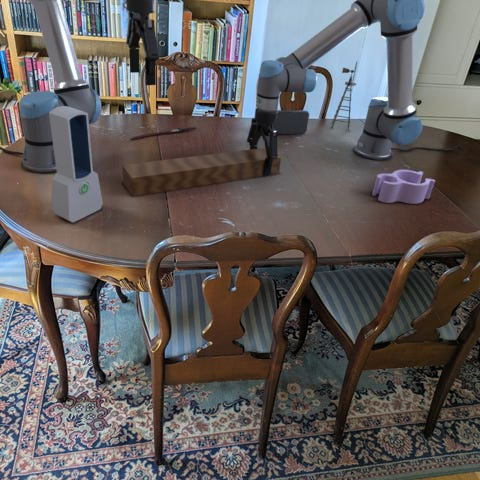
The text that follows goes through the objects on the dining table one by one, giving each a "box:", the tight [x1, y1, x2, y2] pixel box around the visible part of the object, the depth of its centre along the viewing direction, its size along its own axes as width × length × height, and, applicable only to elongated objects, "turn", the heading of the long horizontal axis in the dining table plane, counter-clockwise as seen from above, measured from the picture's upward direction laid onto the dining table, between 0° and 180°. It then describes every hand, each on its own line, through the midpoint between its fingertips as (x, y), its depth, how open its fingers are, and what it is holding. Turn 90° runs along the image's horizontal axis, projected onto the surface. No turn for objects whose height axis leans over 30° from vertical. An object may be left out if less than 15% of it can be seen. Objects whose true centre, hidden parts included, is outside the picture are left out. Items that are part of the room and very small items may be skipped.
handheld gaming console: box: [273, 109, 310, 135], centre depth 204 cm, size 23×3×10 cm, turn 108°
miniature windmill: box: [331, 61, 358, 131], centre depth 214 cm, size 9×8×30 cm
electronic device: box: [49, 106, 104, 224], centre depth 127 cm, size 12×8×30 cm, turn 148°
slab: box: [121, 147, 282, 197], centre depth 160 cm, size 55×10×6 cm, turn 119°
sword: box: [130, 126, 197, 141], centre depth 193 cm, size 31×3×1 cm, turn 126°
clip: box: [371, 169, 436, 205], centre depth 162 cm, size 20×12×7 cm, turn 109°
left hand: (142, 78), depth 133 cm, fingers open, 13 cm apart
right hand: (259, 168), depth 171 cm, fingers closed on slab, 10 cm apart
